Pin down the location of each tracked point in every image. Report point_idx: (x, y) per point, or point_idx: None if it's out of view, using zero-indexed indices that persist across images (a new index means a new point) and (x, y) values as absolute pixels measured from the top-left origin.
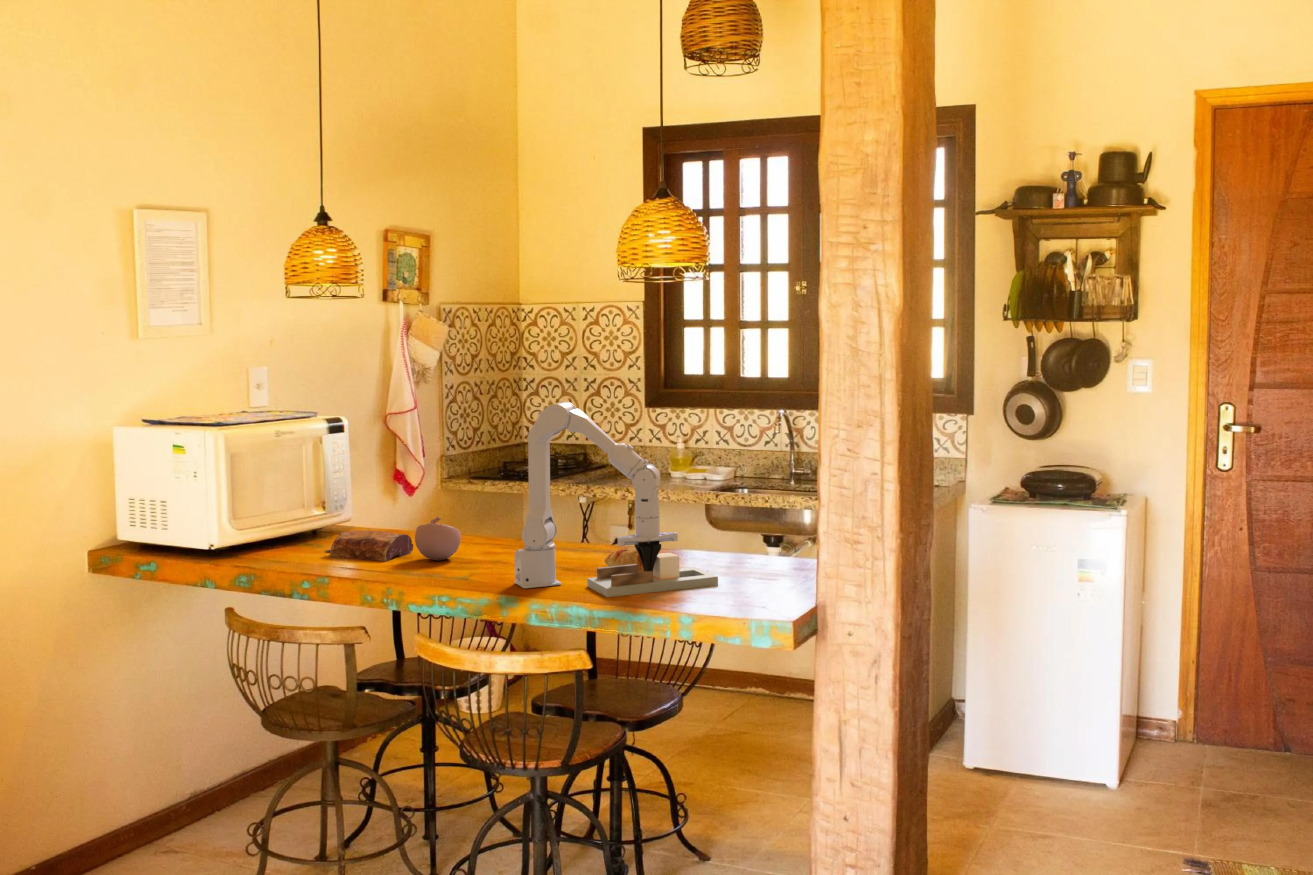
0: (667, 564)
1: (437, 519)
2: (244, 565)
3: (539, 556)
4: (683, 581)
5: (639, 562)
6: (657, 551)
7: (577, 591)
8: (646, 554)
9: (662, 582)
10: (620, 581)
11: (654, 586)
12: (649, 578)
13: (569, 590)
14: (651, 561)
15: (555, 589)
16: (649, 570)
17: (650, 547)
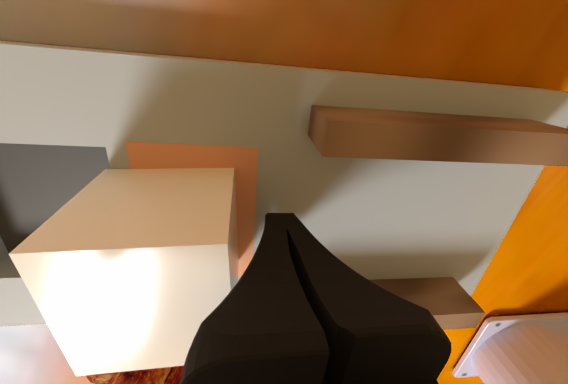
0: (166, 210)
1: None
2: None
3: None
4: (109, 53)
5: None
6: (244, 301)
7: (519, 234)
8: (356, 284)
9: (264, 71)
10: (515, 122)
11: (317, 70)
12: (342, 112)
13: (522, 256)
14: (287, 251)
15: (535, 281)
16: (290, 220)
17: (360, 327)
